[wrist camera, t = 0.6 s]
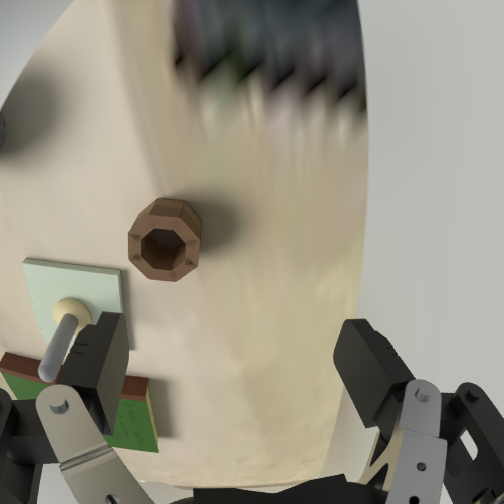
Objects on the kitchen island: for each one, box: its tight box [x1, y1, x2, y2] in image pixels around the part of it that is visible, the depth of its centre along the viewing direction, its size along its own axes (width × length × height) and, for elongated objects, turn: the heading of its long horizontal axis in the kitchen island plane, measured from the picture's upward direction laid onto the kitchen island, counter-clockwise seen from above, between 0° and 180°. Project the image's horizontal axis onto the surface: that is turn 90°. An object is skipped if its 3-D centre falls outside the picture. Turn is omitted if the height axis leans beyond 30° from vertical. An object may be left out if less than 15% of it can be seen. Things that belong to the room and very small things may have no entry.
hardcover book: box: [0, 352, 159, 453], centre depth 39 cm, size 25×19×4 cm
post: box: [22, 258, 124, 382], centre depth 27 cm, size 12×12×11 cm
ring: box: [128, 198, 202, 282], centre depth 27 cm, size 6×6×4 cm
